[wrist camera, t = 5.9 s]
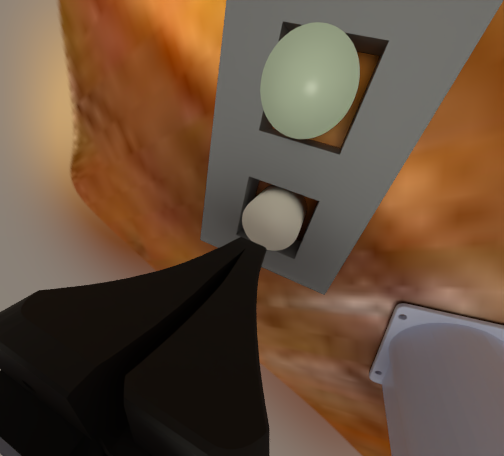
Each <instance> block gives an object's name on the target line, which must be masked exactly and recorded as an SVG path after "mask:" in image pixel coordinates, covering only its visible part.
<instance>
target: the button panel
mask: <svg viewBox="0 0 504 456" xmlns="http://www.w3.org/2000/svg"><path fill="white" fill-rule="evenodd" d="M502 2H503V0H227V1H226V10H225V19H224V28H223V37H222V46H221V56H220V65H219V74H218V83H217V92H216V101H215V111H214V120H213V129H212V138H211V147H210V156H209V165H208V175H207V184H206V193H205V202H204V211H203V220H202V229H201V239H200V240H202V241H204V242H207V243H209V244H211V245H213V246H216V247H218V248H219V247H221V246H223V245H225V244H227V243H229V242H231V241H233V240H235V239H237V238H239V237H243V238H245V239H248V240H250V239H249V238H248V236H247V235H246V233H245V231H244V228H243V225H242V216H243V212H244V210H245V208H246V206H247V205H248V204H249V203H250V202H251V201H252V200H253V199H254V198H255V195H256V191H257V187H258V183H259V180H261V181H264V182H267V183H270V184H272V185H275V186H278V187H281V188H284V189H287V190H289V191H292V192H295V193H298V194H301V195H304V196H306V197H309V198H312V199H315V200H318V202H317V205H316V207H315V209H314V212H313V214H312V216H311V219H310V221H309V223H308V226H307V228H306V230H305V233H304V235H303V237H302V240H301V241H299V240H295V241H294V243H293V244H292V245H290V246H289V247H287V248H285V249H283V250H277V251H272V250H267V251H266V254H265V257H264V260H263V263H262V266H261V267H263V268H265V269H267V270H270V271H272V272H274V273H276V274H279V275H281V276H283V277H285V278H288V279H290V280H292V281H294V282H297V283H299V284H301V285H303V286H306V287H308V288H310V289H312V290H315V291H317V292H319V293H321V294H324V295H325V293H326V292H327V290H328V288H329V287H330V285H331V283H332V282H333V280H334V278H335V277H336V275H337V273H338V272H339V270H340V268H341V267H342V265H343V264H344V262H345V260H346V259H347V257H348V255H349V254H350V252H351V250H352V249H353V247H354V245H355V244H356V242H357V240H358V239H359V237H360V236H361V234H362V232H363V231H364V229H365V227H366V226H367V224H368V222H369V221H370V219H371V217H372V216H373V214H374V213H375V211H376V209H377V208H378V206H379V204H380V203H381V201H382V199H383V198H384V196H385V194H386V193H387V191H388V189H389V188H390V186H391V185H392V183H393V181H394V180H395V178H396V176H397V175H398V173H399V171H400V170H401V168H402V166H403V165H404V163H405V161H406V160H407V158H408V157H409V155H410V153H411V152H412V150H413V148H414V147H415V145H416V143H417V142H418V140H419V138H420V137H421V135H422V133H423V132H424V130H425V129H426V127H427V125H428V124H429V122H430V120H431V119H432V117H433V115H434V114H435V112H436V110H437V109H438V107H439V105H440V104H441V102H442V101H443V99H444V97H445V96H446V94H447V92H448V91H449V89H450V87H451V86H452V84H453V82H454V81H455V79H456V78H457V76H458V74H459V73H460V71H461V69H462V68H463V66H464V64H465V63H466V61H467V59H468V58H469V56H470V54H471V53H472V51H473V50H474V48H475V46H476V45H477V43H478V41H479V40H480V38H481V36H482V35H483V33H484V31H485V30H486V28H487V26H488V25H489V23H490V22H491V20H492V18H493V17H494V15H495V13H496V12H497V10H498V8H499V7H500V5H501V3H502ZM315 22H321V23H328V24H331V25H334V26H336V27H338V28H339V29H341V30H342V31H343V32H344V33H345V34H346V35H347V36H348V37H349V38H350V40H351V41H352V43H353V44H354V47H355V49H356V51H358V52H363V53H368V54H373V55H378V56H380V58H379V60H378V62H377V65H376V67H375V69H374V72H373V74H372V76H371V79H370V81H369V83H368V86H367V88H366V90H365V93H364V95H363V97H362V100H361V102H360V104H359V107H358V109H357V111H356V114H355V116H354V118H353V121H352V123H351V125H350V128H349V130H348V132H347V135H346V137H345V139H344V142H343V144H342V146H341V148H337V147H334V146H330V145H327V144H324V143H320V142H317V141H313V140H310V139H295V138H290V137H288V136H285V135H284V134H282V133H280V132H279V131H278V130H276V129H273V128H272V127H273V126H272V124H271V123H270V122H269V120H268V119H267V117H266V115H265V112H264V110H263V106H262V102H261V94H260V86H261V78H262V73H263V69H264V66H265V64H266V61H267V59H268V57H269V55H270V53H271V52H272V50H273V49H274V47H275V46H276V45H277V43H278V42H279V41H280V40H281V39H282V38H283V37H284V36H285V35H286V34H288V33H289V32H290V31H292V30H294V29H295V28H297V27H299V26H302V25H304V24H308V23H315ZM250 241H251V240H250Z"/></svg>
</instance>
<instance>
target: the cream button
mask: <svg viewBox="0 0 504 456" xmlns="http://www.w3.org/2000/svg"><path fill="white" fill-rule="evenodd" d="M306 212H307V205H306V201H305V198H304V196H303V195H301V194H298V193H295V192H292V191H289V190H287V189H284V188H281V187H278V186H275V185H270V186H268V187H267V188H266V189H264V190H263V191H262V192H261V193H260V194H259V195H258V196H257V197H256V198H254V199H253V200H252V201H251V202H250V203H249V204H248V205H247V206H246V208H245V210H244V212H243V216H242V225H243V228H244V231H245V233H246V235H247V236H248V238H249V239H250V240H251V241H252V242H255V243H257V244H259V245H262V246H264V247H266V249H267V250H272V251H277V250H283V249H285V248H287V247H289V246H290V245H292V244H293V243H294V241H295V240H296V238H297V236H298V234H299V231H300V229H301V226H302V223H303V221H304V218H305V216H306Z"/></svg>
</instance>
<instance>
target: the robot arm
mask: <svg viewBox="0 0 504 456" xmlns="http://www.w3.org/2000/svg"><path fill="white" fill-rule="evenodd" d="M266 251H267V249H266V247H264V246H262V245H259V244H257V243H255V242H252V241H250V240H248V239H245V238H243V237H239V238H237V239H235V240H233V241H231V242H229V243H227V244H225V245H223V246H221V247H219V248H217V249H215V250H213V251H211V252H209V253H207V254H204V255H202V256H199V257H197V258H195V259H192V260H190V261H187V262H184V263H182V264H179V265H176V266H173V267H170V268H166V269H163V270H160V271H156V272H152V273H148V274H144V275H139V276H135V277H131V278H126V279H121V280H116V281H110V282H104V283H98V284H92V285H84V286H76V287H67V288H58V289H50V290H39V291H37V292H35V293H33V294H32V295H30V296H28V297H26V298H25V299H23V300H21V301H19V302H18V303H16V304H14V305H12V306H11V307H9V308H7V309H5V310H3V311H1V312H0V369H1V371H0V453H1V454H2V455H3V456H269V424H268V418H267V412H266V406H265V399H264V393H263V387H262V380H261V372H260V363H259V351H258V340H257V321H256V303H257V286H258V278H259V272H260V269H261V266H262V263H263V260H264V257H265V254H266ZM401 314H404V315H403V316H402V315H401ZM369 377H370V379H371V380H372V381H374V382H376V383H379V384H382V389H383V396H384V403H385V410H386V418H387V425H388V432H389V439H390V446H391V454H392V456H504V325H499V324H495V323H490V322H486V321H482V320H477V319H473V318H468V317H464V316H459V315H455V314H450V313H446V312H441V311H437V310H433V309H428V308H424V307H419V306H415V305H410V304H406V303H400V304H398V305H397V306H396V307H395V310H394V312H393V315H392V317H391V320H390V322H389V325H388V327H387V330H386V332H385V335H384V337H383V340H382V342H381V345H380V347H379V350H378V352H377V355H376V357H375V360H374V362H373V365H372V367H371V370H370V373H369Z"/></svg>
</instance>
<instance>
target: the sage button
mask: <svg viewBox="0 0 504 456" xmlns="http://www.w3.org/2000/svg"><path fill="white" fill-rule="evenodd" d="M359 77H360V65H359V58H358V55H357V51H356V49H355V47H354V44H353V43H352V41H351V40H350V38H349V37H348V36H347V35H346V34H345V33H344V32H343V31H342V30H341V29H339V28H338V27H336V26H334V25H331V24H328V23H321V22H315V23H308V24H304V25H302V26H299V27H297V28H295V29H294V30H292V31H290V32H289V33H288V34H286V35H285V36H284V37H283V38H282V39H281V40H280V41H279V42H278V43H277V45H276V46H275V47H274V49H273V50H272V52H271V53H270V55H269V57H268V59H267V61H266V64H265V66H264V69H263V73H262V78H261V86H260V94H261V102H262V106H263V110H264V112H265V115H266V117H267V119H268V120H269V122H270V123H271V124H272V126H273V127H274V128H275V129H276V130H278V131H279V132H280V133H282V134H284V135H285V136H288V137H290V138H295V139H309V138H314V137H317V136H320V135H322V134H324V133H326V132H327V131H329V130H330V129H332V128H333V127H334V126H335V125H337V124H338V123H339V122H340V121H341V120H342V119H343V117H344V116H345V115H346V113H347V112H348V110H349V108H350V107H351V105H352V103H353V101H354V98H355V95H356V93H357V89H358V85H359Z"/></svg>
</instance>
